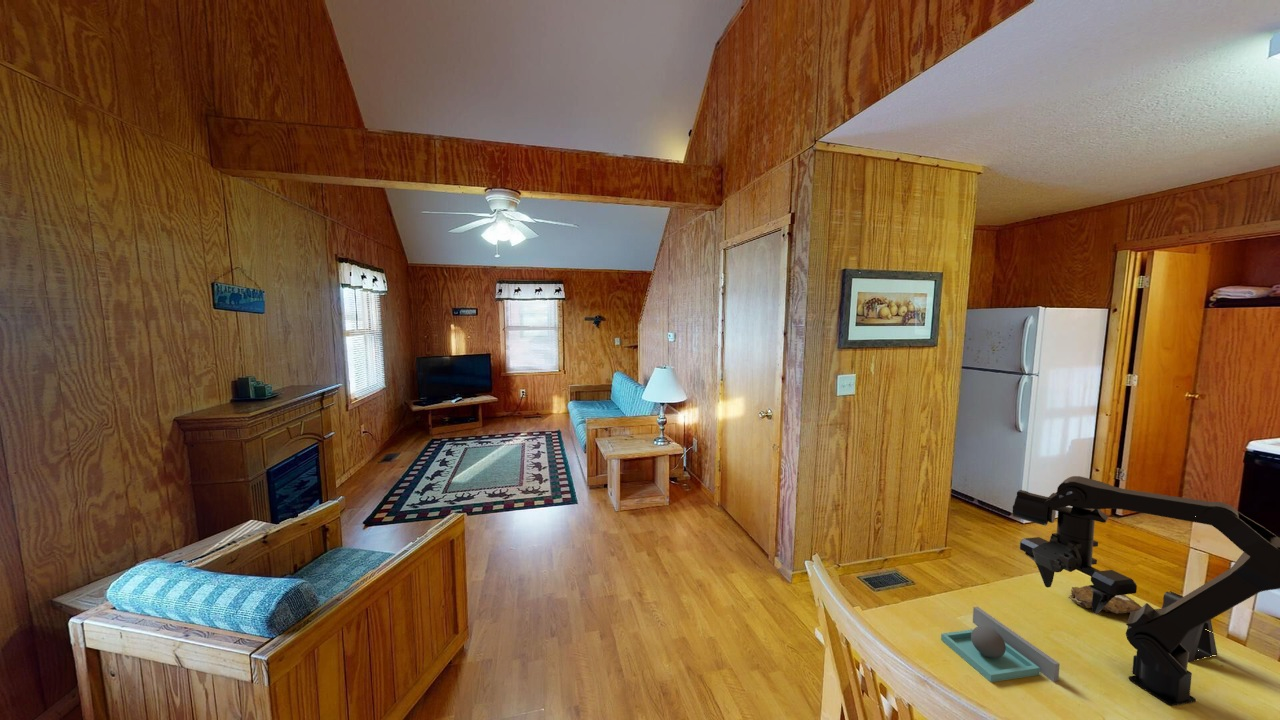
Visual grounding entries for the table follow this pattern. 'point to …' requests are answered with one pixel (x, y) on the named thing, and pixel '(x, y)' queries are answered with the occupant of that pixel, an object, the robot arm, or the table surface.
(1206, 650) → the phone stand
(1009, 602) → the table surface
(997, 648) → the ball
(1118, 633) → the table surface
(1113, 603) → the decorative rock
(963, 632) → the dish
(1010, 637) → the low wall
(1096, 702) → the table surface
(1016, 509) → the robot arm
